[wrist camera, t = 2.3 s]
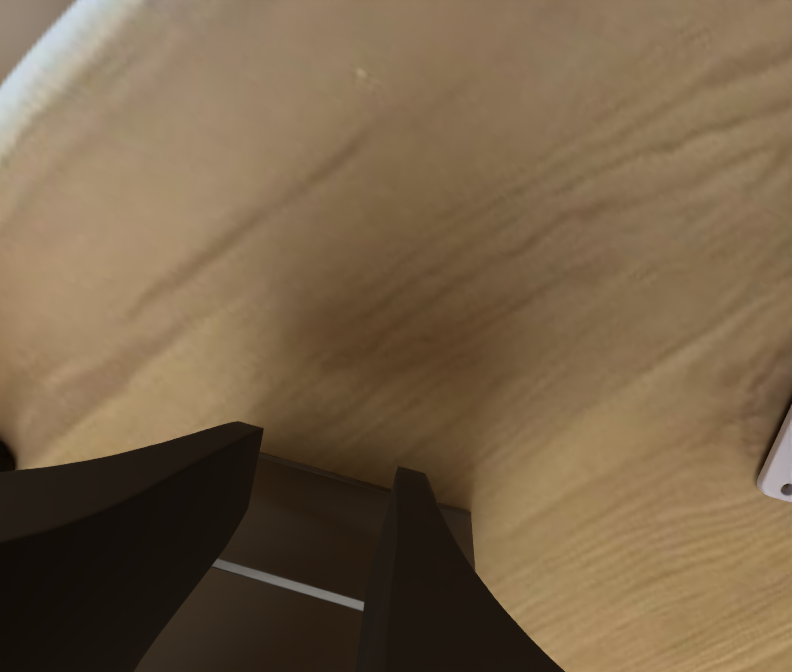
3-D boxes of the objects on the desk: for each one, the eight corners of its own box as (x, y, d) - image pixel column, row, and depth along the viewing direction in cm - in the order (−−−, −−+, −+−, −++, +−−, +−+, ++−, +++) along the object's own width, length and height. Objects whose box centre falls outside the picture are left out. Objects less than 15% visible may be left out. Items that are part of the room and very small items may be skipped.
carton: (208, 636, 25) (118, 785, 18) (243, 447, 22) (154, 538, 16) (412, 698, 24) (397, 877, 17) (471, 511, 22) (480, 635, 15)
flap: (-11, 683, 10) (-9, 669, 10) (142, 555, 15) (145, 546, 15) (508, 850, 9) (512, 834, 9) (478, 656, 14) (481, 646, 14)
